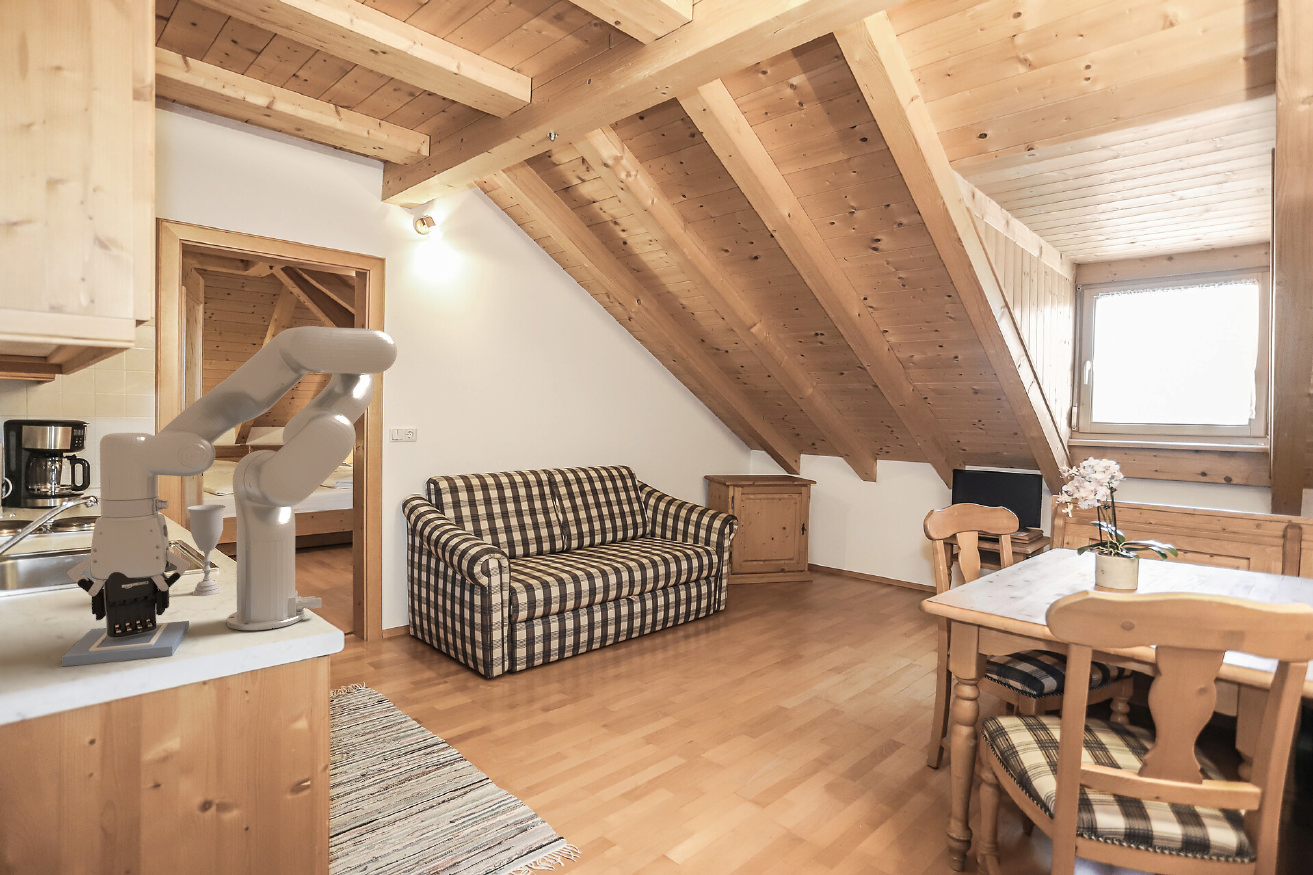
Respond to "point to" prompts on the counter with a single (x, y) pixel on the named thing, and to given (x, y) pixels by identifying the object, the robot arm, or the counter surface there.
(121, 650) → the grey flat square block
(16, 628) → the counter surface
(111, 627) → the battery charger
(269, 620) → the robot arm
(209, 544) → the chalice
